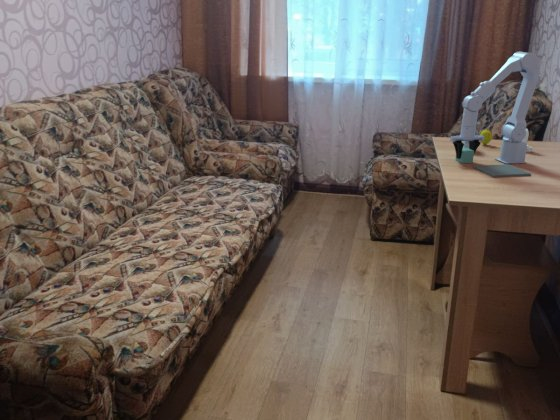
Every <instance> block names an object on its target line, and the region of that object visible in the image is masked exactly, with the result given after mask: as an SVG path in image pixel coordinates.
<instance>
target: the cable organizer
mask: <svg viewBox="0 0 560 420" xmlns="http://www.w3.org/2000/svg"><path fill="white" fill-rule="evenodd" d="M528 140H529V130H528V128H526V136H525V138H524V139H523V141H525V142H526V144H527V151H526V153H527V152H531V153H532V152H533V146H530V145H528Z"/></svg>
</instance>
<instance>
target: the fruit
mask: <svg viewBox="0 0 560 420" xmlns="http://www.w3.org/2000/svg"><path fill="white" fill-rule="evenodd" d="M492 134H493V133H492V131H490V130H489V129H488V128H485V129H483V130H482V131H481V132H480V133H479V135H482V136H484V141H480V142H481V144H482V145H484V146H487V144H489V143H490V142H491V141H492V138H493V135H492Z"/></svg>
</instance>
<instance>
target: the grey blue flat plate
mask: <svg viewBox="0 0 560 420" xmlns="http://www.w3.org/2000/svg"><path fill="white" fill-rule="evenodd" d="M472 168H473V169H474V170H477V171H479V172H481V173H483V174H485V175H487V176H489V177H492V178H509V177H513V178H514V177H531V176H532V173H531V172H528V171H526V170H524V169H520V168H518V167H516V166H514V165H511V164H505V163H503V164H489V165H488V164H487V165H485V164H484V165H473V166H472Z"/></svg>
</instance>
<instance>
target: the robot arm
mask: <svg viewBox="0 0 560 420" xmlns="http://www.w3.org/2000/svg"><path fill="white" fill-rule="evenodd" d="M539 64H540V59H539V57H538V56H537V55H536V54H535V53H533V52H526V51H525V52H524V51H521V50H519V51H516V52H514V53H513V55H512V56H510V57H509V58H508V59H507V61H506V62H505V63H504V64H503V65H502V66H501V68H500V69H499V70H498V71H497V72H496V73H494V75H493V76H492V77H491V78H490V79H489V80H485V81H483V82H482V81H481V82H480V83H479V86H478V87H477V88H476V89H475V90H474V91H471V92H470V95H469V94H468V95H467V96H465V97H464V98H463V101H462V102H461V106H462V108H463V113H462V118H461V120H462V121H461V126H460V127H461V128H460V134H459V135H458V134H457V135H453V136H452V135H451V136H449V141H450V142H452V144H453V147H454V150H455V159H456V158H458V159H460V158H461V153H462V149H463V146H464V143H462V141H469V149H471V150H473V151H474V154H476V151H477V149H479V147H480V145H481V144H482V143H481V141H484V136H482V135H480V134H476V135H475V133H476V130H477V124H478V118H479V110H481V109H482V107H483V103H484V102H486V101H487V99H488V98H489V97H490V96H492V95H493V93H495V92H496V87H497V86H498V85H499V84H500V83H501V82H502V81H504V80H505V79H506V78H507V77H508V76H509V75H511V74H512V73H515V72H520V74H521V76H522V77H523V78H522V81H521V83H520V86H519V87H520V88H519V90H518V93H517V96H516V99H515V102H514V106H513V108H512V113H511V115H510V116H509V117H507V119H506V121H505V123H504V124H503V125H502V127H501V129H500V133H501V135H502V140H501V141H502V143H501V147H500V153H499V154H500V155H499V157H495V158H494V159H495V160H496V161H498V162H501V163H503V164H509V165H511V164H526V156H527V152H526V151H527V145H528V143H527V144H526V142H525V141H523V139H524V138H525V136H526V129H527V125H528V124H527V122H526V121H527V120H526V117H527V114H528V111H529V107H530V105H531V101H532V99H533V96H534V93H535V91H536V87H537V84H538V80H539V78H540V67H539Z"/></svg>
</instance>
